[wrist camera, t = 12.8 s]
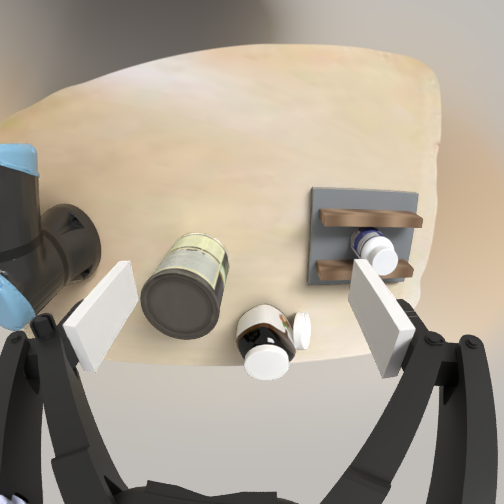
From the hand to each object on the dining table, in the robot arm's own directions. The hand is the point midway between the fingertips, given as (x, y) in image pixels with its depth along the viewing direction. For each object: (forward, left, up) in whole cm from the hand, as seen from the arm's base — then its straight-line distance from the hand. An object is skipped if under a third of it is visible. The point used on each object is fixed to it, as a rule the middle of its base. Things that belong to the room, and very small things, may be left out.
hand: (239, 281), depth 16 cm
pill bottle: (+18, -8, -27) cm, 34 cm away
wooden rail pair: (+18, -8, -27) cm, 33 cm away
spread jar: (+4, -24, -29) cm, 37 cm away
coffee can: (-9, -12, -29) cm, 32 cm away
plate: (+18, -8, -28) cm, 34 cm away
